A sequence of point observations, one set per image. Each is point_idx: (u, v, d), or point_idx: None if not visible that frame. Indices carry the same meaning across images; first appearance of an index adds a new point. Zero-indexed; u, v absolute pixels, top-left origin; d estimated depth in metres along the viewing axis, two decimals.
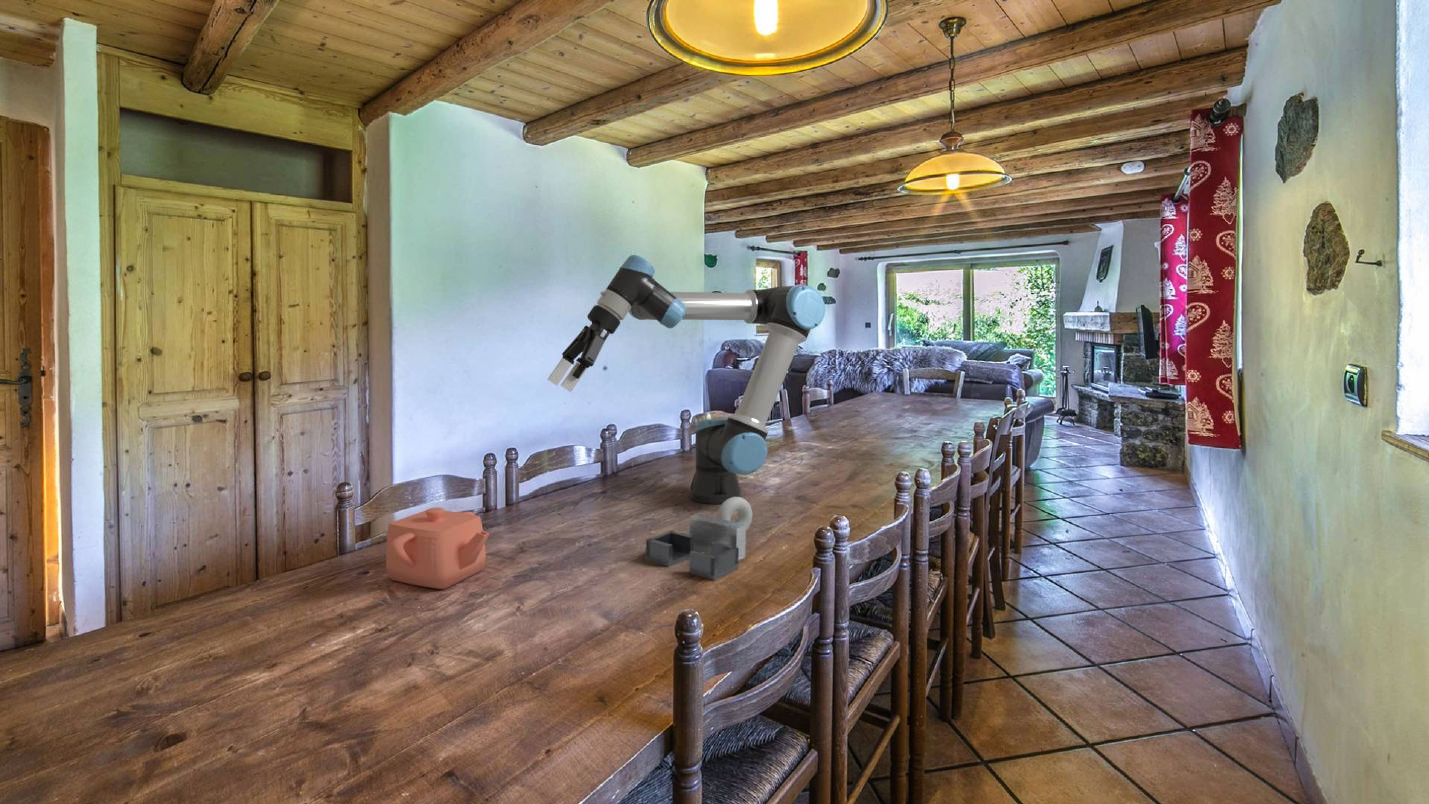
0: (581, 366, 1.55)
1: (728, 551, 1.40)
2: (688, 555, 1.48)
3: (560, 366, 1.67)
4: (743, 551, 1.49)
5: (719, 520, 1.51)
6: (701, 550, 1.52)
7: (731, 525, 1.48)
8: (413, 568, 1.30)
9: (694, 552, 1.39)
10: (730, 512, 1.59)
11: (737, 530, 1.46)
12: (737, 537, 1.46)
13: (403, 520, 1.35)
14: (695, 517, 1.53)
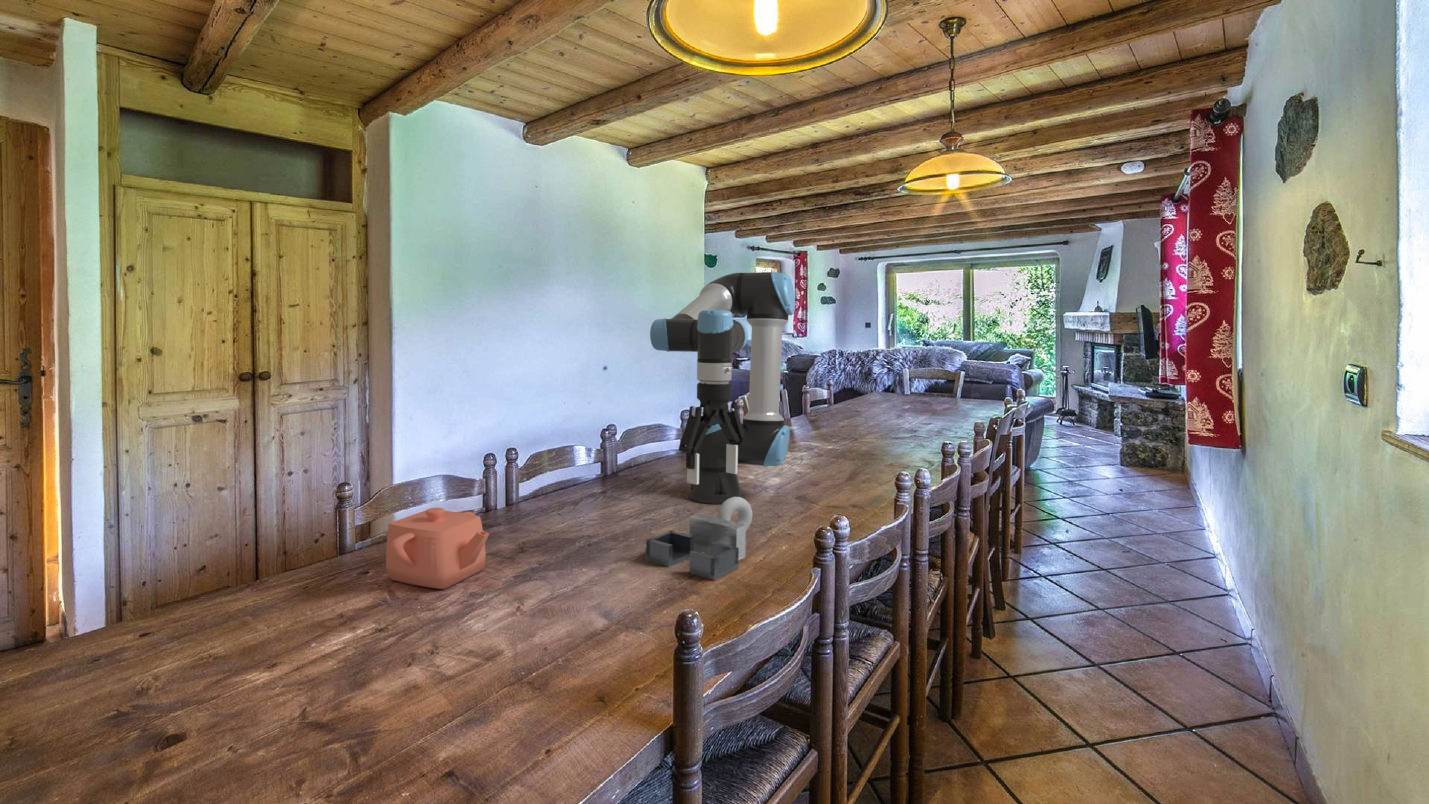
0: None
1: (728, 551, 1.40)
2: (688, 555, 1.48)
3: None
4: (743, 551, 1.49)
5: (719, 520, 1.51)
6: (701, 550, 1.52)
7: (731, 525, 1.48)
8: (413, 568, 1.30)
9: (694, 552, 1.39)
10: (730, 512, 1.59)
11: (737, 530, 1.46)
12: (737, 537, 1.46)
13: (403, 521, 1.35)
14: (695, 517, 1.53)
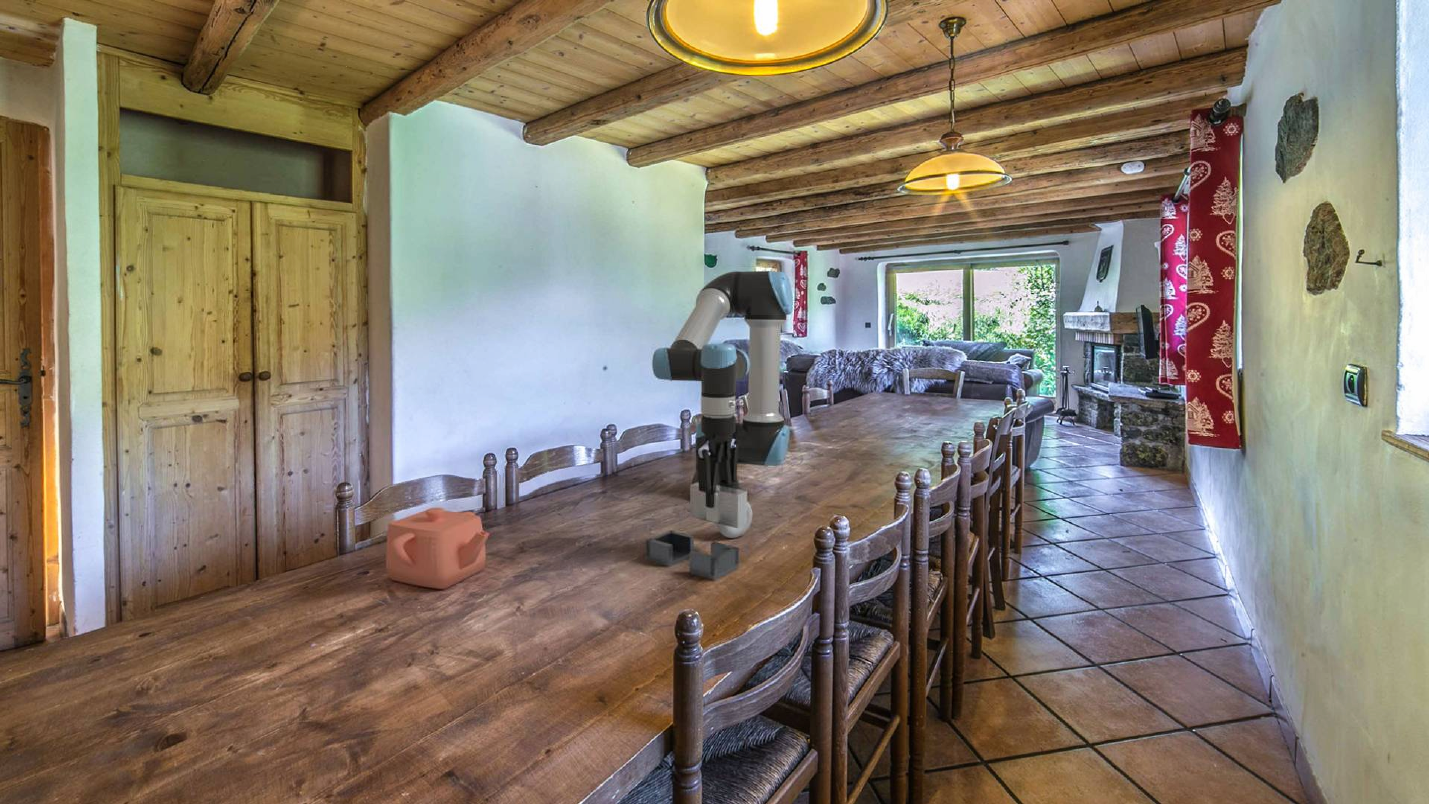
0: None
1: (728, 551, 1.40)
2: (688, 555, 1.48)
3: None
4: (744, 517, 1.48)
5: (720, 487, 1.51)
6: (702, 517, 1.52)
7: (732, 492, 1.47)
8: (413, 568, 1.30)
9: (694, 552, 1.39)
10: None
11: (738, 496, 1.45)
12: (739, 504, 1.46)
13: (403, 521, 1.35)
14: (696, 485, 1.53)
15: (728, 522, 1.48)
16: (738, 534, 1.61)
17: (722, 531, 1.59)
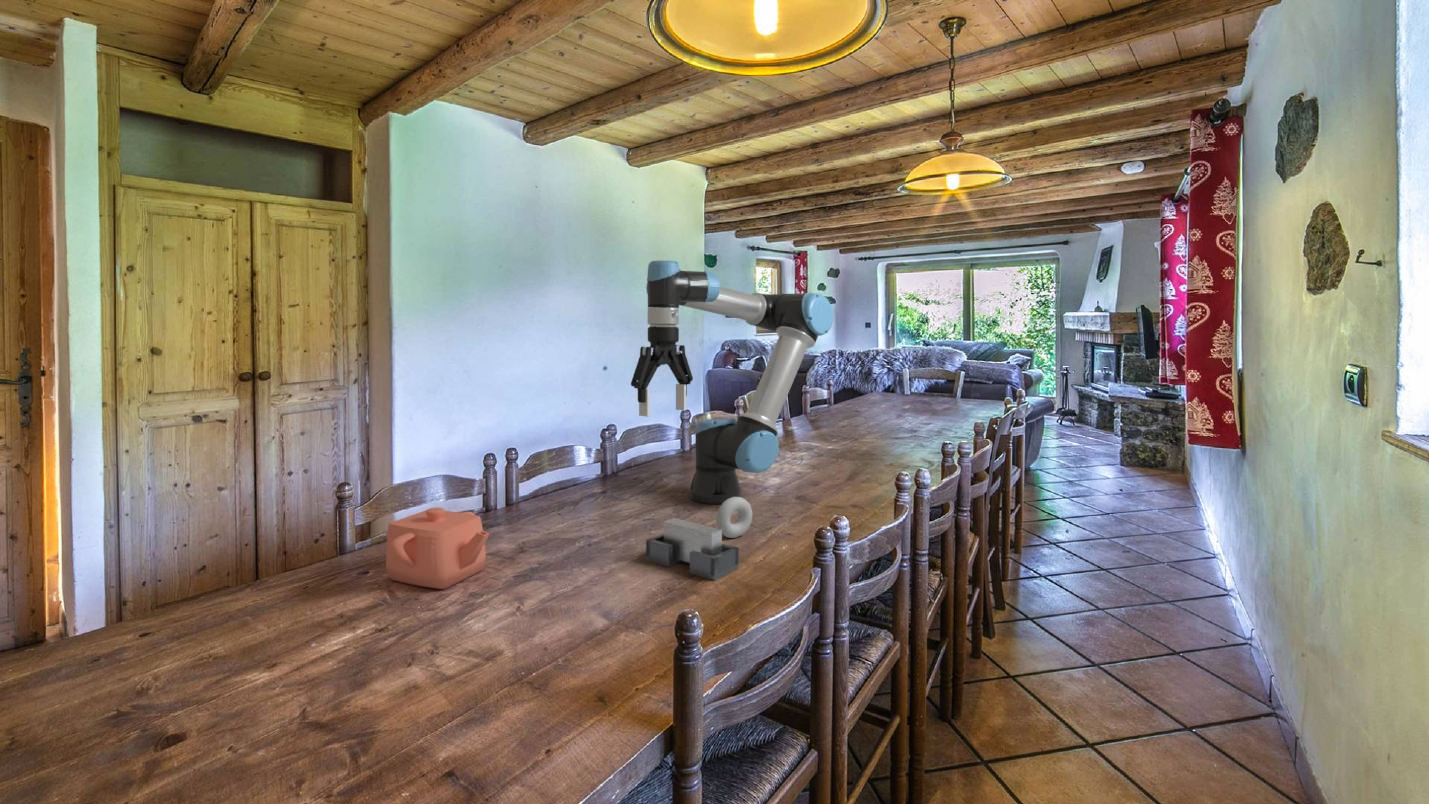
0: None
1: (728, 551, 1.40)
2: None
3: None
4: None
5: (695, 525, 1.44)
6: (676, 556, 1.45)
7: (706, 530, 1.41)
8: (413, 568, 1.30)
9: (694, 552, 1.39)
10: (730, 512, 1.59)
11: (712, 535, 1.39)
12: (712, 543, 1.39)
13: (403, 520, 1.35)
14: (670, 521, 1.46)
15: None
16: (738, 534, 1.61)
17: (722, 531, 1.59)
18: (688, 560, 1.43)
